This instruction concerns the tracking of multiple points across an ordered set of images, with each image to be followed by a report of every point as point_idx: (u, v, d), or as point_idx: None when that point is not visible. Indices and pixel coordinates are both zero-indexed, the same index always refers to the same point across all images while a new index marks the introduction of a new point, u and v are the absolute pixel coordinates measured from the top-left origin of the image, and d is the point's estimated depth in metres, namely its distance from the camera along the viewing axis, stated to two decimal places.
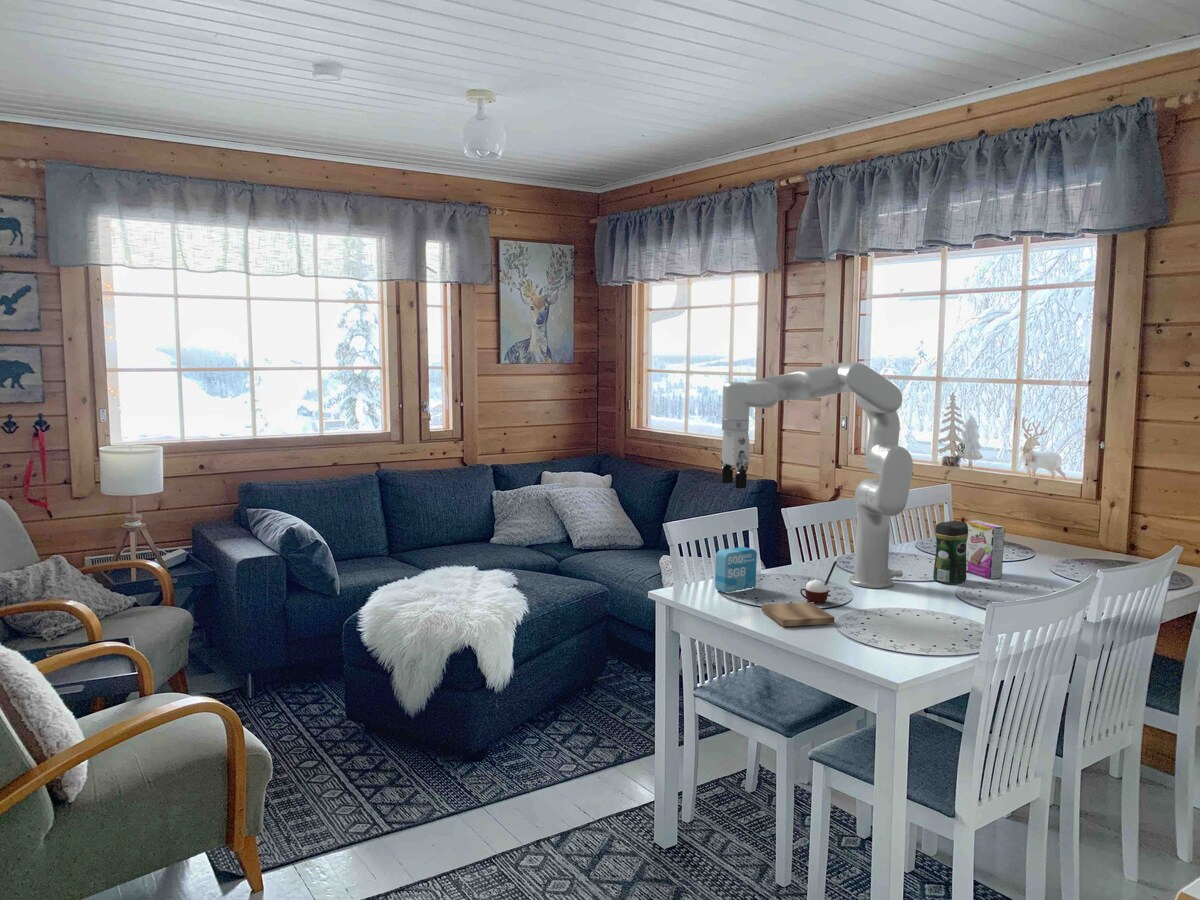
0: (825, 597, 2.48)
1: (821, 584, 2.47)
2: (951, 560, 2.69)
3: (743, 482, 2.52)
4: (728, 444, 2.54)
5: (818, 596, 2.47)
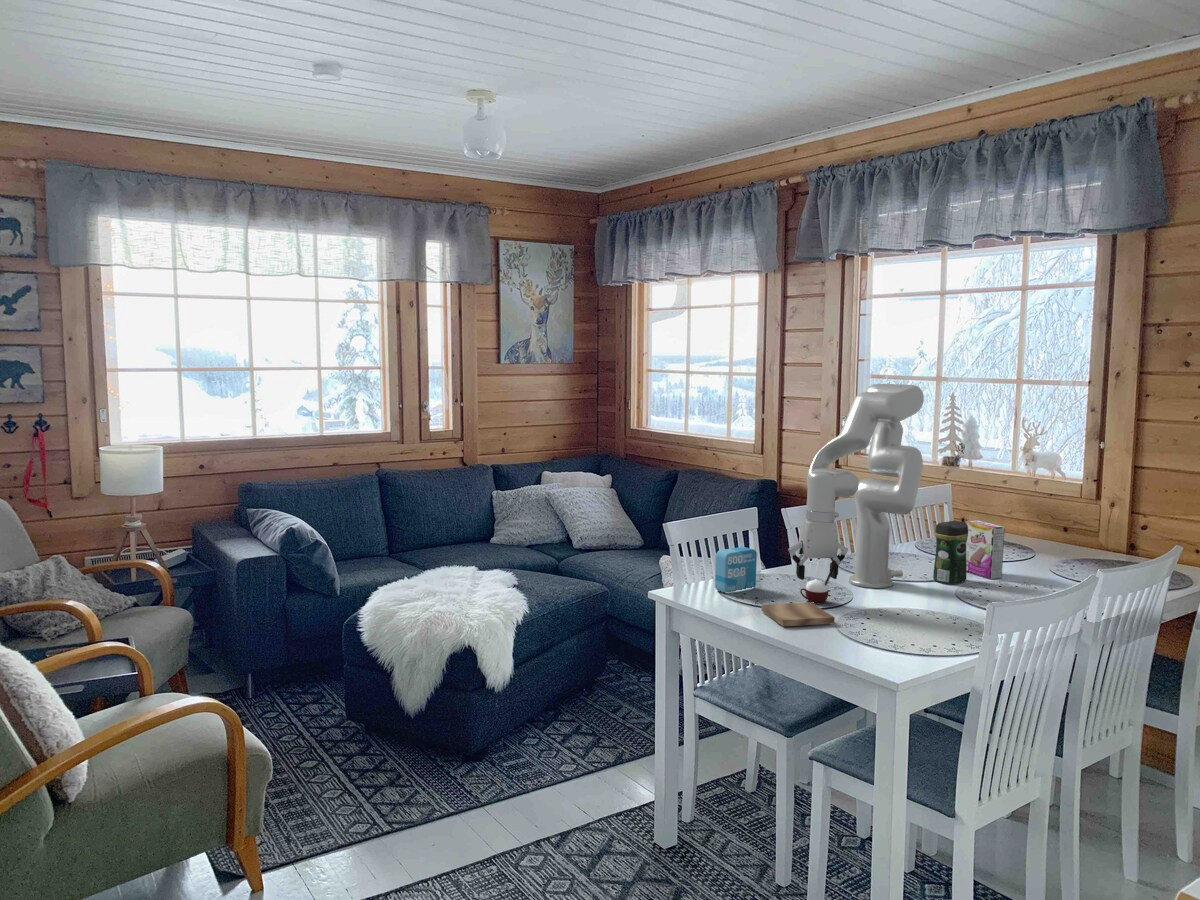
0: (825, 597, 2.48)
1: (821, 584, 2.47)
2: (951, 560, 2.69)
3: None
4: (827, 537, 2.45)
5: (818, 596, 2.47)
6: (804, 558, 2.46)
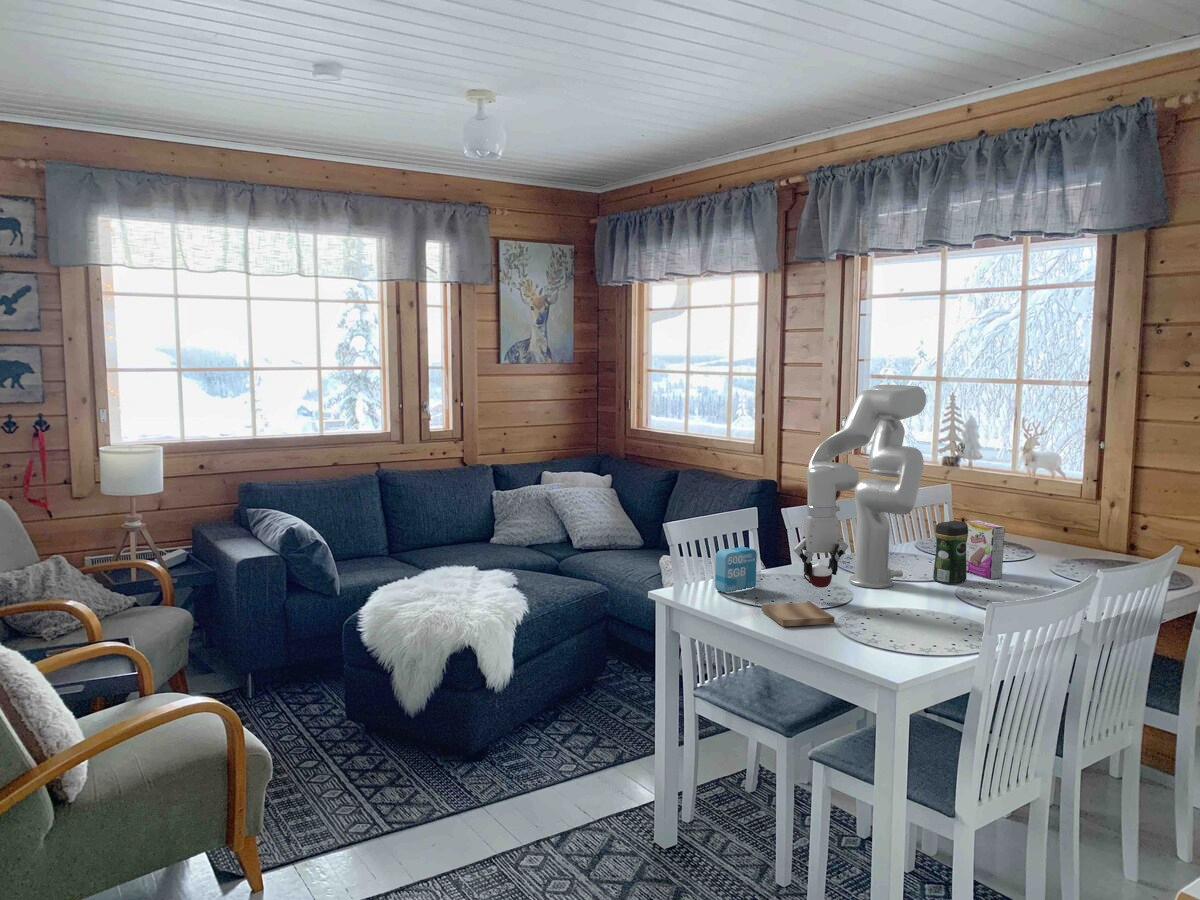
0: (828, 581, 2.48)
1: (824, 568, 2.47)
2: (951, 560, 2.69)
3: None
4: (829, 531, 2.46)
5: (822, 580, 2.47)
6: (810, 555, 2.47)
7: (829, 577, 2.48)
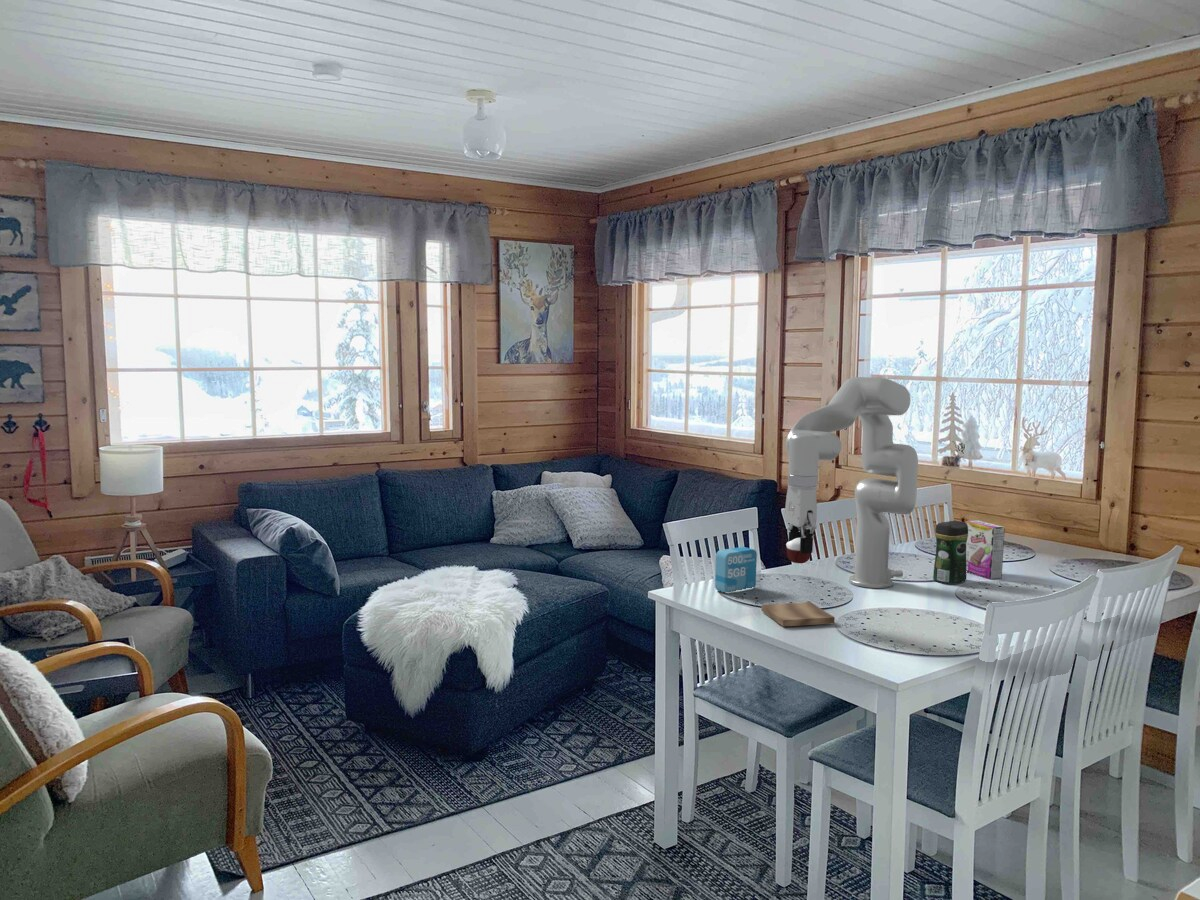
0: None
1: None
2: (951, 560, 2.69)
3: None
4: None
5: None
6: None
7: None
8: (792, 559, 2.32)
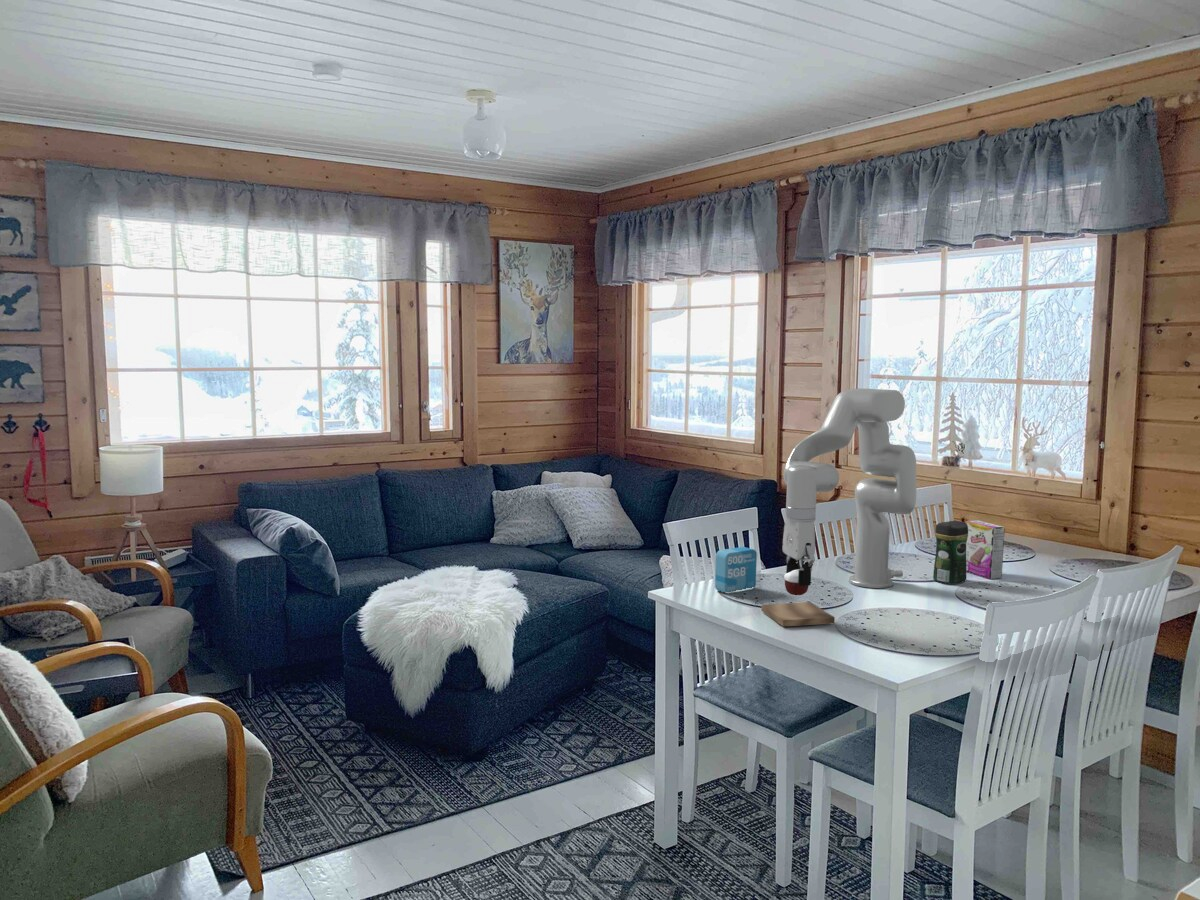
0: None
1: None
2: (951, 560, 2.69)
3: None
4: None
5: None
6: None
7: None
8: (790, 591, 2.32)
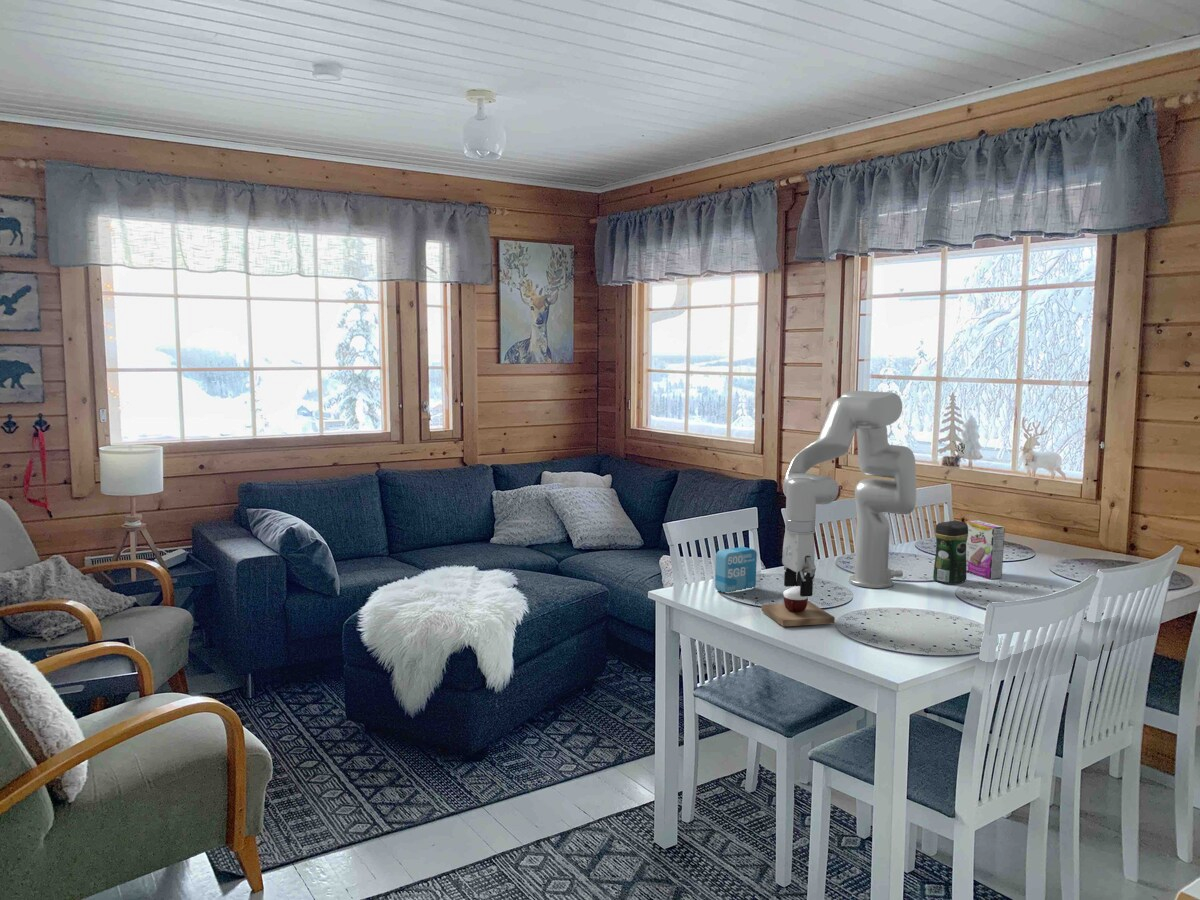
0: None
1: None
2: (951, 560, 2.69)
3: None
4: None
5: None
6: None
7: None
8: (789, 608, 2.33)
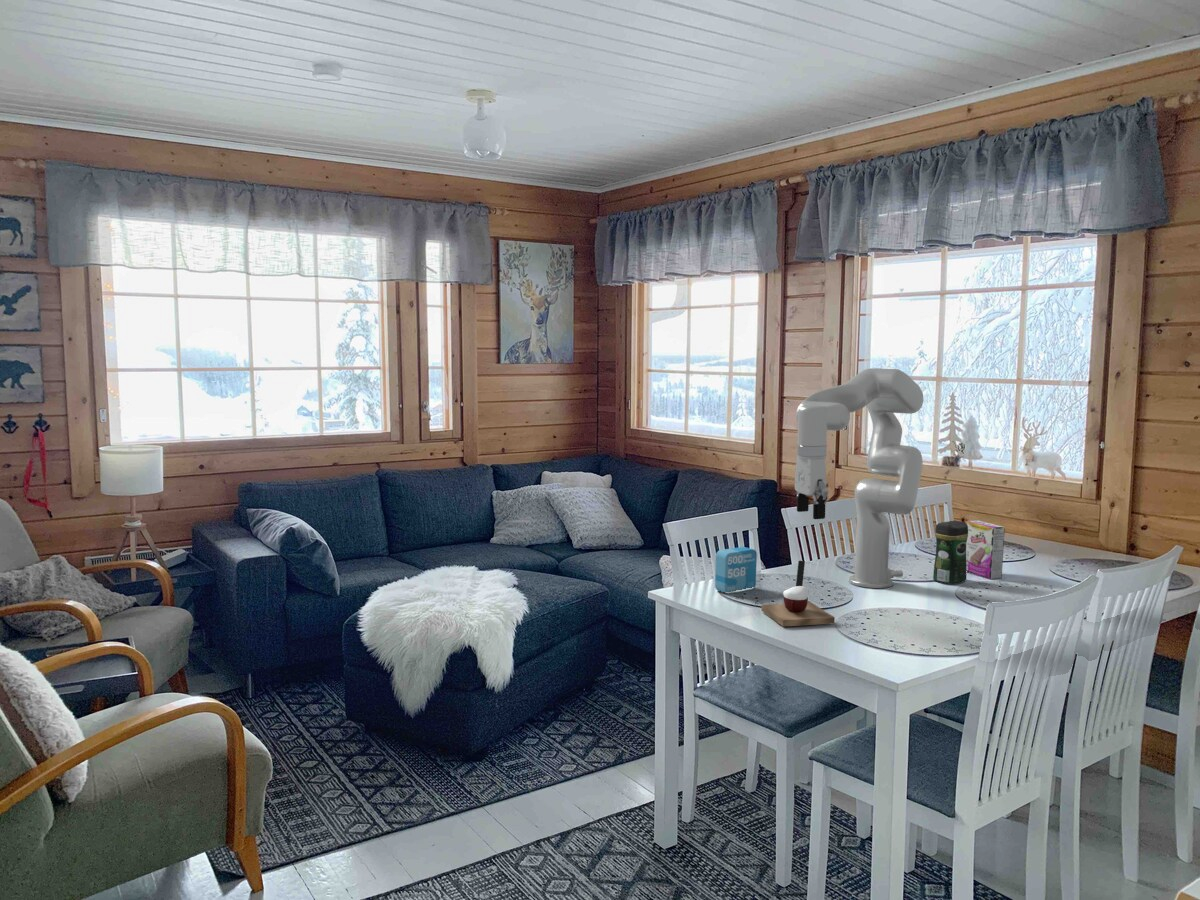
0: None
1: None
2: (951, 560, 2.69)
3: None
4: None
5: None
6: None
7: None
8: (789, 608, 2.33)
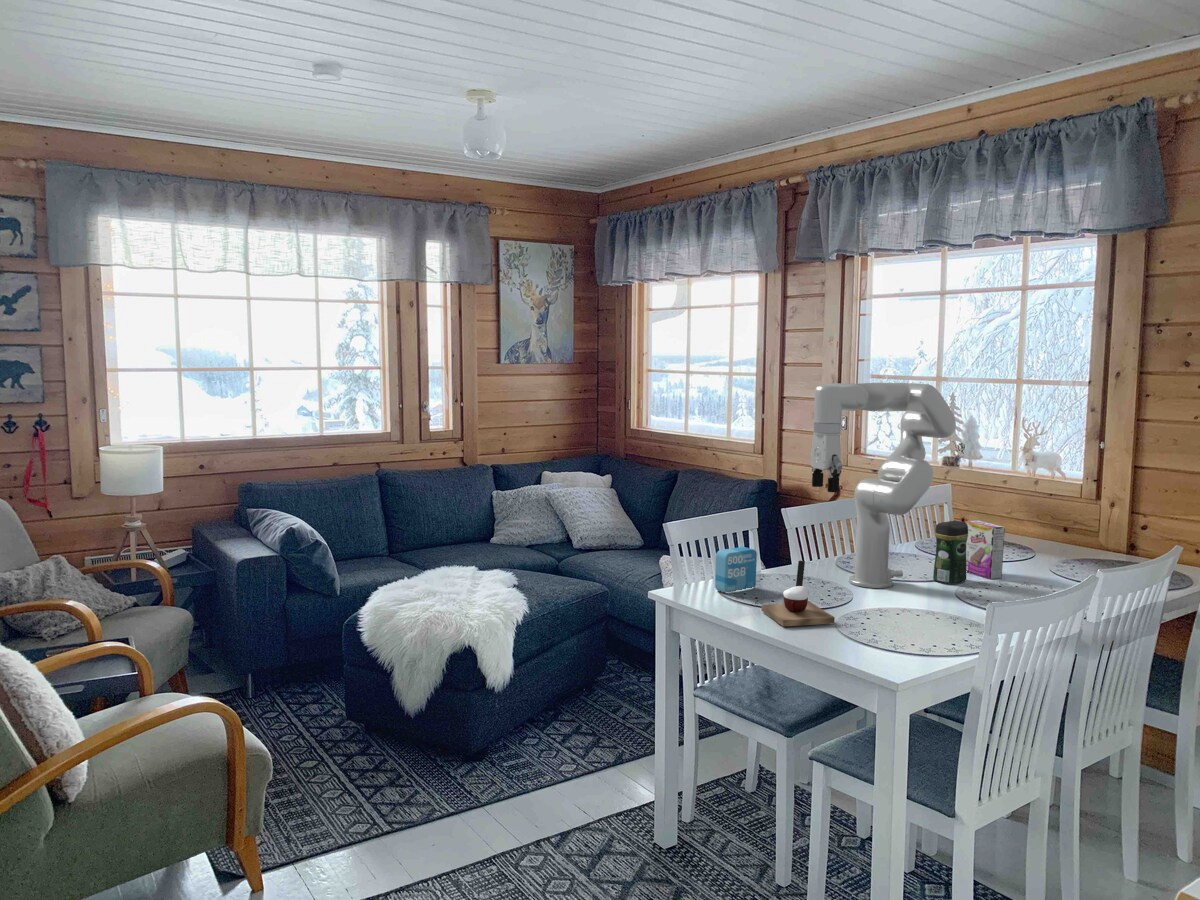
0: None
1: None
2: (951, 560, 2.69)
3: None
4: None
5: None
6: None
7: None
8: (789, 608, 2.33)
